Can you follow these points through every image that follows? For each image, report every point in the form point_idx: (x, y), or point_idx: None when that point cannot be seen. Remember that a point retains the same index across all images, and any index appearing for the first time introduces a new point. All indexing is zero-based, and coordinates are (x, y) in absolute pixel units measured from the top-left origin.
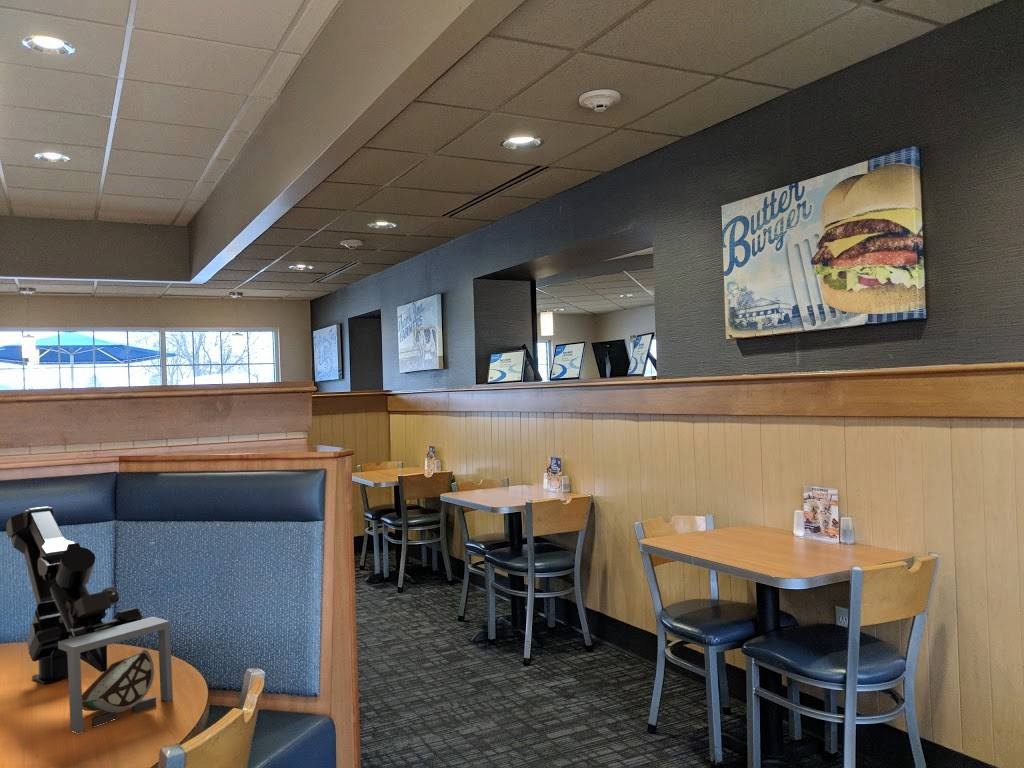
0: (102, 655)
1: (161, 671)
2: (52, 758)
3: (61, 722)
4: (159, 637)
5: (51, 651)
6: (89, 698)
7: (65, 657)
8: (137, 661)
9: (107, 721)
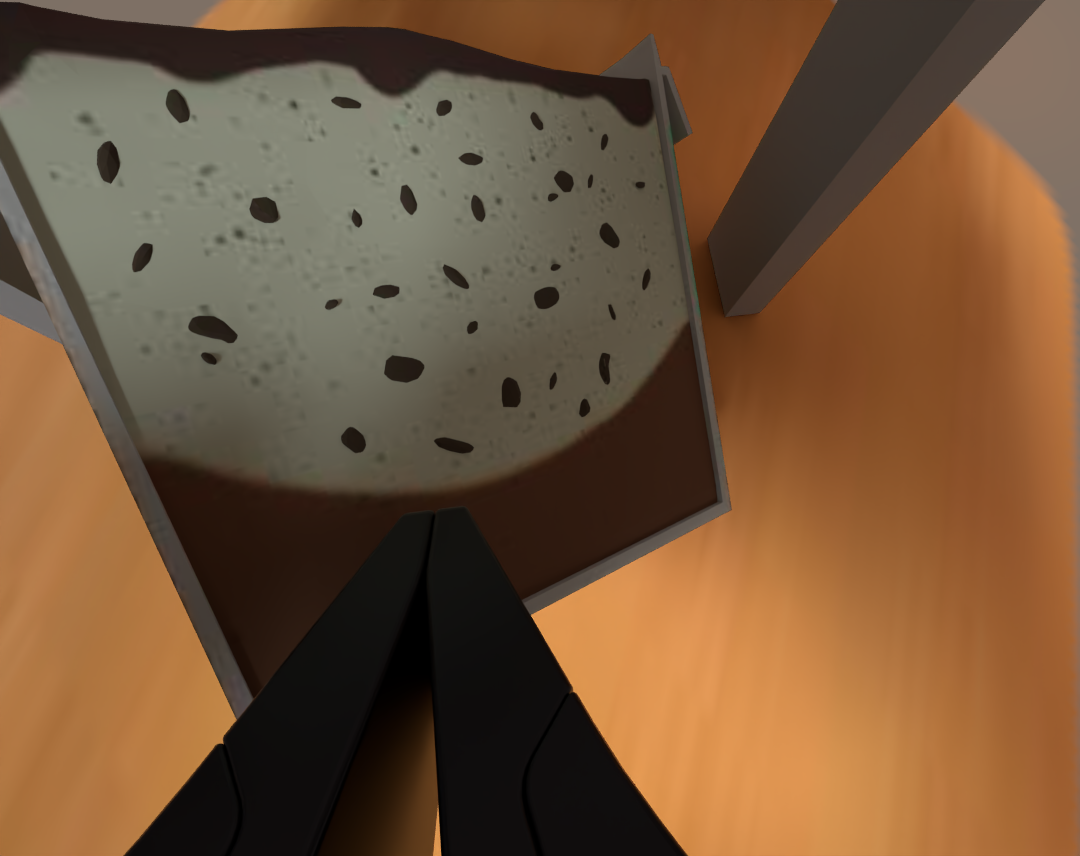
0: (379, 641)
1: (3, 243)
2: None
3: (774, 510)
4: None
5: None
6: (669, 300)
7: None
8: (146, 29)
9: None
